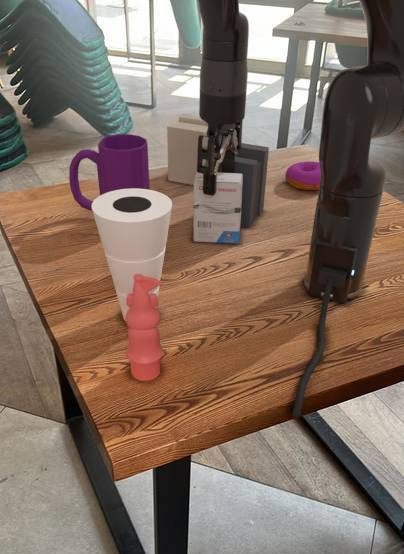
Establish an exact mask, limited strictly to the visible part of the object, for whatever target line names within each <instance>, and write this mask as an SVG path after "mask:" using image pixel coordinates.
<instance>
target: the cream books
mask: <svg viewBox="0 0 404 554" xmlns="http://www.w3.org/2000/svg"><path fill="white" fill-rule="evenodd" d="M207 129H208V124H207V123H206V122H205V121H203V120H202V119H201V118H200V116H199V115H192V114H185V113H182V114H181V115H179V116H178V121H177V122H176V123H170V124H169V125H167V126H166V134H167V135H166V138H167V139H166V141H167V181H168V182H175V183H179V184H185V185H189V186H190V185H191V186H194V179H195V175H196V173H197V154H198V138H199V135H202V136H206V133H207ZM214 155H215V154H214ZM203 160H204V159H203Z"/></svg>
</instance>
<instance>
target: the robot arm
mask: <svg viewBox="0 0 404 554" xmlns="http://www.w3.org/2000/svg"><path fill="white" fill-rule="evenodd" d="M197 3H198V9H199V15H200V19H201V22H202V36H201V37H202V38H201V39H202V40H201V41H202V42H201V44H202V45H201V62H200V72H199V101H198V102H199V104H198V105H199V106H198V107H199V111H198V116H200V118H201V119H202V120H203V121H205V122H206V123H207V124H208V129H207V133H206V136H202V135H199V138H198V154H197V172H198V173H202V174H203V193H204V194H206V195H211V196H213V195H215V194H216V183H217V170H218V166H219V163H220V162H222V173H234V171H235V157H236V156H237V154H238V150H240V149H241V143H243V122H244V121H243V120H244V119H245V118H246V103H247V92H248V91H247V89H248V78H249V77H248V73H249V69H248V52H249V39H250V38H249V37H250V29H249V28H250V25H249V19H248V17H247V16H246V15H245V14H244V13H243V12H241V11H240V4H239V0H197ZM358 3H359V5H360V8H361V10H362V13H363V17H364V22H365V27H366V37H367V39H366V40H367V43H366V44H367V58H366V59H367V60H366V65H360V66H358V65H357V66H353V67H347V68H344V69H342V70H340V71H339V72H338V73H336V74H335V75H334V76H333V78H332V79H331V81H330V82H329V84H328V87H327V90H326V93H325V96H324V101H323V107H322V115H321V127H320V137H319V146H318V148H319V149H318V162H319V165H320V170H321V178H320V185H319V189H318V191H317V199H316V203H315V210H314V217H313V224H312V231H311V239H310V245H309V251H308V258H307V266H306V270H305V271H306V272H305V275H304V281H303V283H304V287H305V288H306V290H307V296H311V297H316V298H320V299H322V302H321V306H320V312H319V317H318V326H317V337H318V343H317V347H316V351H315V353H314V355H313V357H312V358H311V361H310V362H309V363H308V365H307V366H306V368H305V369H304V371H303V373H302V376H301V378H300V381H299V383H298V387H297V390H296V395H295V399H294V403H293V404H294V405H293V408H292V412H291V415H292V416H293V417H294V418H299V417H300V416H301V413H302V407H303V403H304V399H305V393H306V389H307V386H308V383H309V380H310V378H311V376H312V374H313V373H314V371H315V369H316V368H317V366H318V364H319V363H320V361H321V359H322V357H323V355H324V352H325V348H326V322H327V321H326V320H327V314H328V310H329V309H328V308H329V304H330V301H332V302H336V303H341V304H346V303H347V301H349V300H352V299H355V298H356V297H358V296H359V295H361V293H362V290H363V286H364V278H365V274H366V268H367V265H368V261H369V255H370V252H371V251H370V250H371V248H372V247H371V246H372V242H373V237H374V233H375V229H376V223H377V220H378V215H379V211H380V206H381V202H382V198H383V193H384V191H385V190H384V189H385V184H386V180H387V171H386V169H385V167H384V166H383V165H382V164H381V163H379V162H377V161H375V160H374V159H370V150H371V143H372V140H373V139H379V138H385V137H388V136H391V135H394V134H397V133H399V132H401V131H402V130H403V129H404V0H358ZM214 154H218V155H214ZM203 159H204V160H203ZM214 161H215V162H214ZM213 164H214V165H213Z"/></svg>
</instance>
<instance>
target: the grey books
mask: <svg viewBox="0 0 404 554" xmlns="http://www.w3.org/2000/svg"><path fill="white" fill-rule="evenodd" d="M269 150H270V147H269V146H263V145H259V144H258V145H257V144H251V143H246V142H245V143H244V142H242V143H241V149H240V150H238V154H237V156H236V157H235V171H234V173H237V174H243V180H242V203H241V221H240V227H243V228H247V229H249V228H250V227H252V225H253V224H254V222H255V220H256V219H257V218H258V216H259V217H260V216H261V214H263V212H264V208H265V196H266V185H267V174H268V173H267V172H268V163H269ZM215 155H218V154H215ZM214 162H215V161H214ZM213 165H214V164H213ZM217 172H219V173H222V162H220V163H219V166H218V170H217Z"/></svg>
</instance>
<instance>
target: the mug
mask: <svg viewBox="0 0 404 554" xmlns="http://www.w3.org/2000/svg"><path fill="white" fill-rule="evenodd" d="M148 147H149V146H148V140H147V138H145V137H142V136H141V135H137V134H130V133H122V134H121V133H119V134H118V133H117V134H112V135H108V136H104V137H102V138H101V140H100V141H99V142H98V143H97V148H98V151H96V150H94V149H89V148H87V149H81V150H80V151H78V152H77V153H76V154H75V155H74V156H73V158H72V159H71V161H70V164H69V169H68V170H69V173H68V174H69V175H68V181H69V186H70V191H71V193H72V196H73V199H74V201H75V202H76V203H77V204H78V205H79V206H80V207H81V208H83V209H85V210H87V211H89V212H93V211H92V203H93V201H94V200H91V199H88V198H87V197H86V196H84V195H83V193H82V190H81V188H80V180H79V167H80V164H81V162H82V160H84V159H88V160H89V161H91V162H92V163H94V164H95V165H96V171H97V180H98V181H97V183H98V191H99V196H101V195H102V194H105V193H107V192H111V191H115V190H120V189H131V188H137V189H148V190H151V188H150V169H149V148H148Z"/></svg>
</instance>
